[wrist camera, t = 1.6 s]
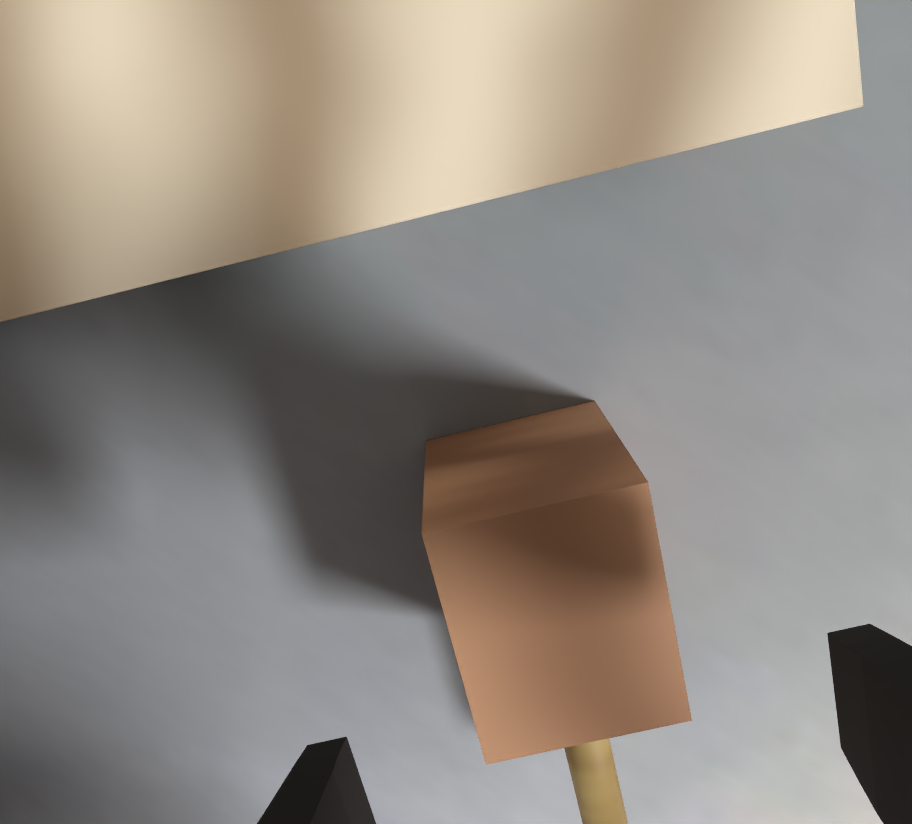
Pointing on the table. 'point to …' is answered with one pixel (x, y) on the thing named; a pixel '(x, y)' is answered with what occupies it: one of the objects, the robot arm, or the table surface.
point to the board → (357, 116)
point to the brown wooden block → (554, 592)
